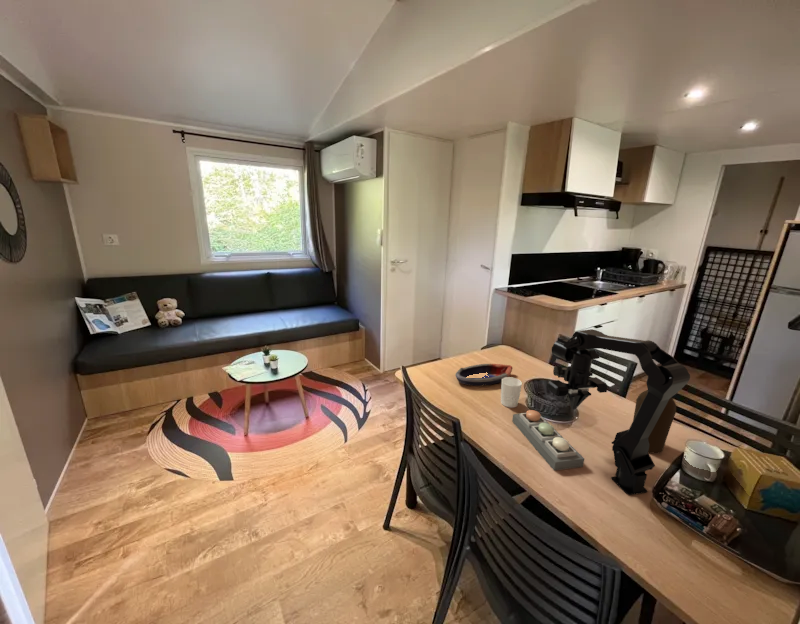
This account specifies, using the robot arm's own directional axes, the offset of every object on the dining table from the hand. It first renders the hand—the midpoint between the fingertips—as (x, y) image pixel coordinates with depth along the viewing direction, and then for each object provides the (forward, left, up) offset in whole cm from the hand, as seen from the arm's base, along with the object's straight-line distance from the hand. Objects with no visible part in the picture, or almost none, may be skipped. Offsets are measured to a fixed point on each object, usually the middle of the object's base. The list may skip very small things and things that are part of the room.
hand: (573, 408), depth 116 cm
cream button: (-8, +9, -8) cm, 14 cm away
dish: (+47, +10, -12) cm, 50 cm away
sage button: (0, +9, -8) cm, 12 cm away
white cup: (+25, +9, -12) cm, 29 cm away
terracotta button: (+8, +9, -8) cm, 14 cm away
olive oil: (-7, -25, -12) cm, 29 cm away
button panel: (0, +9, -12) cm, 15 cm away
